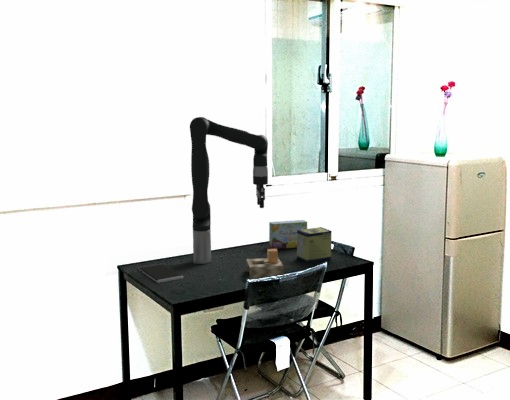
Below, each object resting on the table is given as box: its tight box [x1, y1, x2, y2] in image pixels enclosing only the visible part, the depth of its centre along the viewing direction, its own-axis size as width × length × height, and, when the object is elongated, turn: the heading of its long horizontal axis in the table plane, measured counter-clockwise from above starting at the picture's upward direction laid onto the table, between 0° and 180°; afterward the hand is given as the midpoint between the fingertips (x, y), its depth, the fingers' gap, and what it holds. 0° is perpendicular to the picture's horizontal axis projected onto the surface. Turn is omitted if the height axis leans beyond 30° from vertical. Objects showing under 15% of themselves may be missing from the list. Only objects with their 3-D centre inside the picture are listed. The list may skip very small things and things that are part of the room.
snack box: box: [268, 219, 308, 250], centre depth 335 cm, size 21×6×15 cm, turn 105°
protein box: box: [296, 226, 333, 264], centre depth 310 cm, size 10×16×16 cm
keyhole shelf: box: [245, 257, 284, 280], centre depth 285 cm, size 16×14×6 cm
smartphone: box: [138, 263, 184, 284], centre depth 288 cm, size 13×27×2 cm, turn 31°
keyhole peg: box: [266, 248, 279, 263], centre depth 285 cm, size 4×4×9 cm
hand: (260, 206), depth 299 cm, fingers open, 8 cm apart
